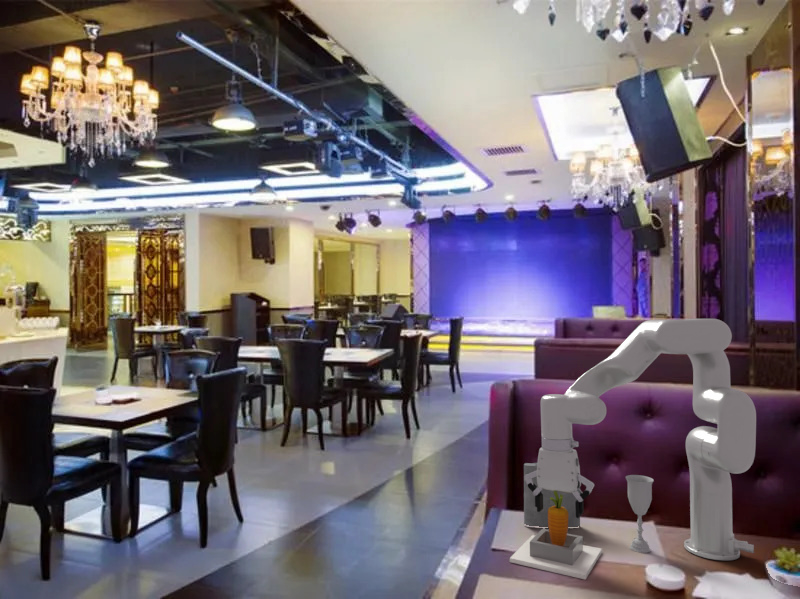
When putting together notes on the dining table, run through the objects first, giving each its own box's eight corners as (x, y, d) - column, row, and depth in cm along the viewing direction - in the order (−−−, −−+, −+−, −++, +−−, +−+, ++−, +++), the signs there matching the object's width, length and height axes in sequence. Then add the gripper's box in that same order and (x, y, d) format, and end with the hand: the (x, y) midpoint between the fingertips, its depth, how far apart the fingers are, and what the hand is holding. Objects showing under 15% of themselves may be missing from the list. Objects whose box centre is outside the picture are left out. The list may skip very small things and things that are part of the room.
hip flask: (578, 524, 165) (577, 455, 166) (582, 529, 161) (581, 458, 162) (523, 523, 166) (523, 454, 166) (525, 528, 162) (525, 457, 162)
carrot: (568, 558, 139) (568, 496, 139) (547, 555, 140) (547, 494, 141) (568, 550, 143) (568, 490, 144) (548, 548, 145) (548, 488, 145)
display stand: (601, 552, 145) (601, 534, 145) (585, 579, 129) (585, 559, 130) (532, 538, 154) (532, 521, 154) (509, 562, 139) (509, 543, 139)
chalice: (657, 555, 143) (656, 483, 144) (628, 553, 145) (628, 481, 145) (650, 544, 150) (650, 475, 151) (623, 542, 152) (623, 474, 153)
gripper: (595, 444, 142) (598, 514, 141) (528, 438, 151) (530, 504, 150) (589, 450, 135) (591, 523, 135) (518, 444, 144) (520, 512, 143)
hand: (559, 513), depth 142 cm, fingers open, 9 cm apart
